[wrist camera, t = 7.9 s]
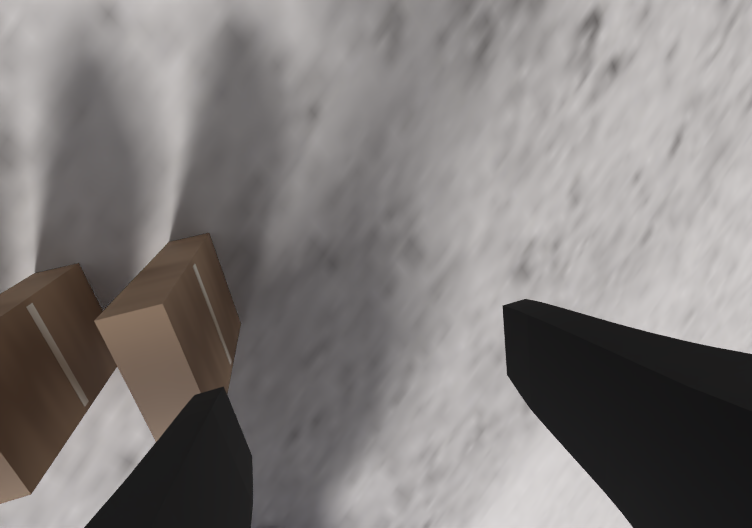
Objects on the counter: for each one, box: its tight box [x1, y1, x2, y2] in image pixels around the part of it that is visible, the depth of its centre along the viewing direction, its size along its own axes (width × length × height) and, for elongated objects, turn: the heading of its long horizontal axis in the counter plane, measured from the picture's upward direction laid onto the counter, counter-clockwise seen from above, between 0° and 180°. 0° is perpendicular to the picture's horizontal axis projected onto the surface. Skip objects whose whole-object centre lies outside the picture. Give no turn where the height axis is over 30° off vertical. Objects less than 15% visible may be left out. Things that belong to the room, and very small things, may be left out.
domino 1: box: [0, 263, 117, 504], centre depth 13 cm, size 4×2×7 cm, turn 10°
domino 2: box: [94, 233, 241, 442], centre depth 14 cm, size 4×2×7 cm, turn 10°
